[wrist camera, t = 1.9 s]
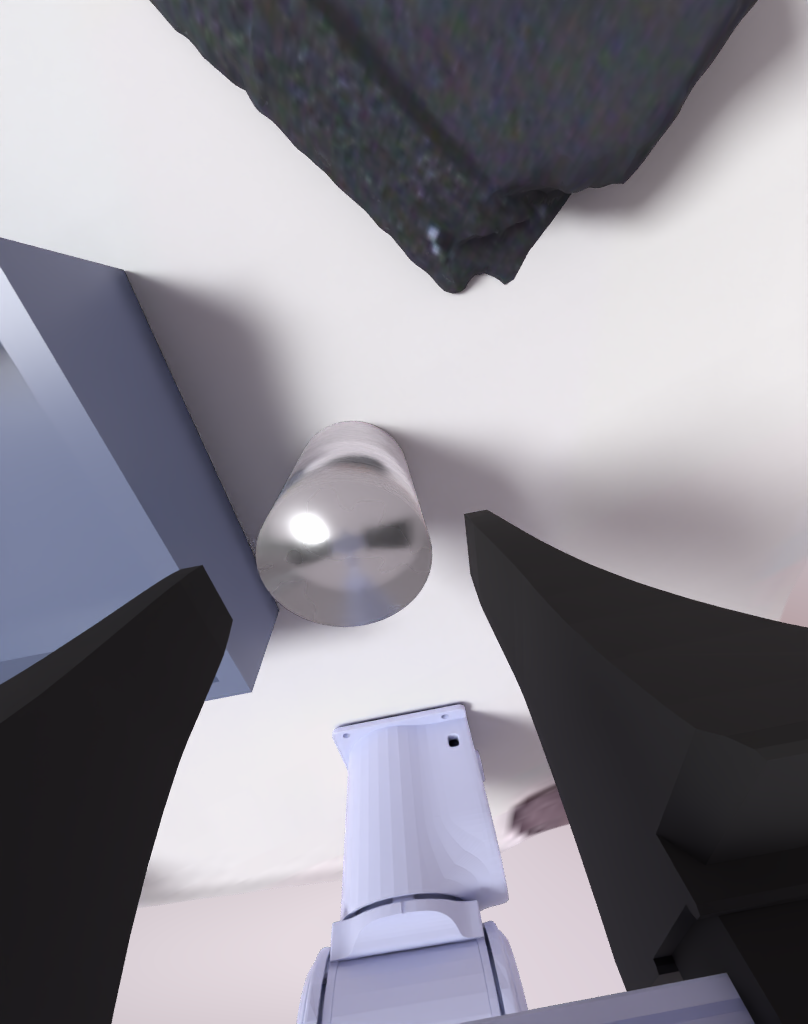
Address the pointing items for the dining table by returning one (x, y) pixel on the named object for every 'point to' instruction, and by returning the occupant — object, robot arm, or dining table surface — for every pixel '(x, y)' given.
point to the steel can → (346, 530)
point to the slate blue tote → (103, 470)
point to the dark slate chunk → (464, 103)
